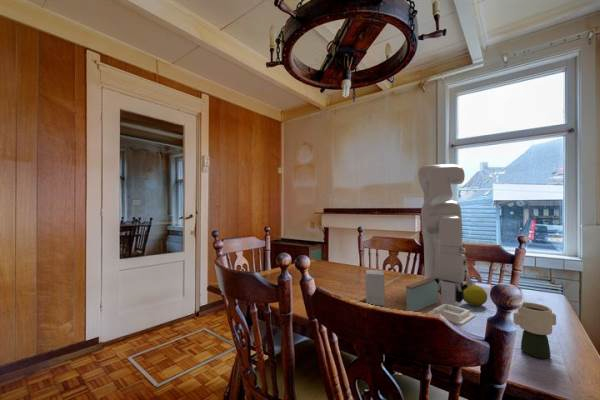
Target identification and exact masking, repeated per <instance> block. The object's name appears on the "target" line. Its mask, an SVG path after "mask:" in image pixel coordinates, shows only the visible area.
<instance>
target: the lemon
mask: <svg viewBox="0 0 600 400" xmlns="http://www.w3.org/2000/svg"><path fill="white" fill-rule="evenodd" d="M463 296H464V298H463V300H462V301H464V302H465V303H466V304H468V305H470V306H476V307H478V306H483V305H484V304H485V303H486V302H487V301H488V294H487V292H486V290H485V289H484V288H483V287H482V286H480V285H475V284H473V285H471V286H469V287H467V288H466V289H465V290H463Z"/></svg>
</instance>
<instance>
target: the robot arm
mask: <svg viewBox="0 0 600 400" xmlns="http://www.w3.org/2000/svg"><path fill="white" fill-rule="evenodd" d="M417 177H418V181H419V185H420V186H421V189H422V193H423V204H422V206H421V211H420V212H421V213H420V217H421V225H422V228H421V235H422V239H423V240H422V241H423V251H424V254H423V255H424V258H423V259H424V280H425V279H428V278H431V277H432V278H433V279H434V280H435V281H436V282H437V284H438V292H439V295H440V296H441V281H442V280H446V281H451V282H456V283H457V288H458V291H457V302H461V301H462V302H463V301H464V300H463V298H464V296H463V290H465V289H466V288H467V287H469V286H471V285H475V283H474V281H473V280H472V279H471V277H470V276H469V269H468V267H469V266H468V262H467V257H466V255H465V254H463V253H466V252H467V248H465V247H464V246H463V236H464V235H463V218H462V209H461V205H460V204H459V202H458V201H456V200H451V199H452V197H453V190H452V185H462V184H463V183H464V181H465V179H466V178H465V170H464V168H463V167H462V166H461V165H459V164H456V163H447V164H446V163H445V164H443V163H442V164H427V165H423V166H420V167H419V169H418V171H417ZM464 282H466V283H464Z"/></svg>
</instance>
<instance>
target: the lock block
mask: <svg viewBox="0 0 600 400" xmlns="http://www.w3.org/2000/svg"><path fill="white" fill-rule="evenodd" d="M457 291H458V288H457V283H456V282H451V281H446V280H442V281H441V295H440V303H441V304H448V305H452V306H456V307H458V306H460V305H461V304H462V302H463V300H462V301H461V302H457Z"/></svg>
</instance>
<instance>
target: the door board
mask: <svg viewBox="0 0 600 400" xmlns="http://www.w3.org/2000/svg"><path fill="white" fill-rule="evenodd" d="M405 287H406V289H405V290H406V291H405V292H406V312H407V311H415V312H418V311H421V310H422V309H425V308H427V307H428V306H431V305H433V304H435V303H437V302H439V300H438V299H439V297H438V296H439V294H438V293H439V291H438V284H437V282H436V281H435V280H434V279H433V278H432V277H431V278H428V279H425V278H424V279H423V280H420V281H416V282H414V283H410V284H408V285H406V286H405ZM415 312H414V313H415Z"/></svg>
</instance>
